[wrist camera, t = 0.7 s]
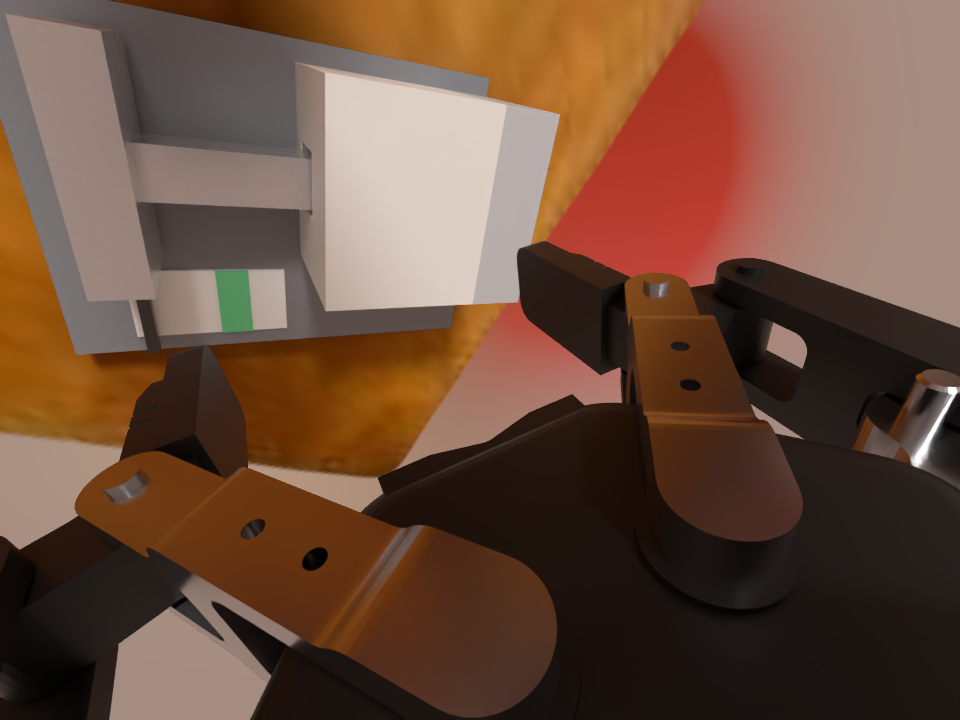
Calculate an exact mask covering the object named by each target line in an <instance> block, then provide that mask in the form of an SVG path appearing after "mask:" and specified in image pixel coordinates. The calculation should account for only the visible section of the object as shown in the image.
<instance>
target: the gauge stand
mask: <svg viewBox="0 0 960 720" xmlns="http://www.w3.org/2000/svg"><path fill="white" fill-rule="evenodd" d="M5 14H16V15H28V16H40V17H50V18H56V19H61V20H66V21H72V22H77V23H83V24H88V25H94V26H99V27H105V28H110V29H116V30H121V31H122V35H123V40H124V45H125V51H126V56H127V62H128V67H129V72H130V78H131V83H132V88H133V94H134V99H135V105H136V110H137V115H138V121H139V126H140V132H141V133H143V134H152V135H162V136H172V137H182V138H191V139H201V140H211V141H221V142H230V143H240V144H250V145H260V146H269V147H279V148H289V149H298V150H308V151H311V153H312V210H299V209H278V208H257V207H235V206H214V205H193V204H172V203H154V207H155V213H156V218H157V223H158V229H159V234H160V240H161V245H162V250H163V261H162V266H161V272H160V277H159V283H158V288H157V294H156V299H152V304H153V309H154V313H155V318H156V323H157V328H158V332H159V337H160V342H161V347H162V348H161V349H165V348H179V347H193V346H201V345H220V344H234V343H248V342H262V341H276V340H289V339H303V338H317V337H331V336H345V335H359V334H372V333H386V332H400V331H414V330H428V329H441V328H451V327H452V320H453V314H454V307H455V305H468V304H488V303H509V302H518V297H519V293H520V291H519V280H518V269H517V252H518V250H519V249H520V248H522V247H525V246H529V245H531V241H532V236H533V232H534V227H535V223H536V219H537V214H538V210H539V205H540V201H541V197H542V192H543V188H544V183H545V179H546V175H547V170H548V166H549V161H550V157H551V153H552V148H553V144H554V139H555V135H556V131H557V126H558V122H559V117H560V114H556V113H552V112H547V111H543V110H539V109H535V108H531V107H526V106H522V105H518V104H514V103H510V102H505V101H501V100H497V99H493V98H489V97H487V92H488V85H489V78H486V77H481V76H476V75H471V74H467V73H462V72H457V71H452V70H447V69H442V68H437V67H432V66H427V65H423V64H418V63H413V62H408V61H403V60H398V59H393V58H388V57H384V56H379V55H374V54H369V53H364V52H359V51H354V50H349V49H344V48H340V47H335V46H330V45H325V44H320V43H315V42H310V41H305V40H300V39H296V38H291V37H286V36H281V35H276V34H271V33H266V32H261V31H256V30H252V29H247V28H242V27H237V26H232V25H227V24H222V23H217V22H213V21H208V20H203V19H198V18H193V17H188V16H183V15H178V14H173V13H169V12H164V11H159V10H154V9H149V8H144V7H139V6H134V5H129V4H125V3H120V2H115V1H110V0H0V118H1V121H2V124H3V127H4V130H5V133H6V137H7V140H8V143H9V146H10V149H11V152H12V155H13V158H14V162H15V165H16V168H17V171H18V174H19V177H20V180H21V183H22V187H23V190H24V193H25V196H26V199H27V202H28V205H29V208H30V212H31V215H32V218H33V221H34V224H35V227H36V230H37V233H38V237H39V240H40V243H41V246H42V249H43V252H44V255H45V258H46V262H47V265H48V268H49V271H50V274H51V277H52V280H53V283H54V287H55V290H56V293H57V296H58V299H59V302H60V305H61V308H62V312H63V315H64V318H65V321H66V324H67V327H68V330H69V333H70V337H71V340H72V343H73V346H74V349H75V352H76V355H82V354H96V353H110V352H124V351H138V350H147V346H146V341H145V337H144V333H143V328H142V324H141V320H140V315H139V311H138V306H137V302H136V300H117V301H87V298H86V294H85V291H84V287H83V284H82V280H81V277H80V273H79V270H78V266H77V263H76V259H75V256H74V252H73V249H72V245H71V242H70V238H69V235H68V231H67V228H66V224H65V221H64V217H63V214H62V210H61V207H60V203H59V200H58V196H57V193H56V189H55V186H54V182H53V179H52V175H51V172H50V168H49V165H48V161H47V158H46V154H45V151H44V148H43V144H42V141H41V137H40V134H39V130H38V127H37V123H36V120H35V116H34V113H33V109H32V106H31V102H30V99H29V95H28V92H27V88H26V85H25V81H24V78H23V74H22V71H21V67H20V64H19V60H18V57H17V53H16V50H15V46H14V43H13V39H12V36H11V32H10V29H9V25H8V22H7V18H6V15H5Z"/></svg>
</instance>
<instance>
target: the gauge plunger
mask: <svg viewBox="0 0 960 720" xmlns="http://www.w3.org/2000/svg"><path fill="white" fill-rule="evenodd" d="M5 15H6V18H7V22H8V25H9V29H10V32H11V36H12V39H13V43H14V46H15V50H16V53H17V57H18V60H19V64H20V67H21V71H22V74H23V78H24V81H25V85H26V88H27V92H28V95H29V99H30V102H31V106H32V109H33V113H34V116H35V120H36V123H37V127H38V130H39V134H40V137H41V141H42V144H43V148H44V151H45V154H46V158H47V161H48V165H49V168H50V172H51V175H52V179H53V182H54V186H55V189H56V193H57V196H58V200H59V203H60V207H61V210H62V214H63V217H64V221H65V224H66V228H67V231H68V235H69V238H70V242H71V245H72V249H73V252H74V256H75V259H76V263H77V266H78V270H79V273H80V277H81V280H82V284H83V287H84V291H85V294H86V298H87V301H117V300H136V302H137V306H138V311H139V315H140V320H141V324H142V328H143V333H144V337H145V341H146V346H147V350H148V353H161V348H162V347H161V342H160V337H159V332H158V328H157V323H156V318H155V313H154V309H153V304H152V299H156V294H157V288H158V283H159V277H160V272H161V266H162V261H163V250H162V245H161V240H160V234H159V229H158V223H157V218H156V213H155V207H154V203H172V204H193V205H214V206H235V207H257V208H278V209H299V210H312V153H311V151H308V150H298V149H289V148H279V147H269V146H260V145H250V144H240V143H230V142H221V141H211V140H201V139H191V138H182V137H172V136H162V135H152V134H143V133H141V132H140V126H139V121H138V115H137V110H136V105H135V99H134V94H133V88H132V83H131V78H130V72H129V67H128V62H127V56H126V51H125V45H124V40H123V35H122V31H121V30H116V29H110V28H105V27H99V26H94V25H88V24H83V23H77V22H72V21H66V20H61V19H56V18H50V17H40V16H28V15H16V14H5Z"/></svg>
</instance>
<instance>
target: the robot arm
mask: <svg viewBox="0 0 960 720" xmlns="http://www.w3.org/2000/svg"><path fill="white" fill-rule="evenodd" d="M517 269H518V280H519V291H520V301H521V306H522V309H523V312H524V314H525V316H526V317H527V319H528V320H529V321H530V322H532V323H533V324H534V325H536V326H537V327H538V328H539V329H541V330H542V331H543V332H545V333H546V334H547V335H549V336H550V337H551V338H552V339H554V340H555V341H556V342H558V343H559V344H560V345H562V346H563V347H564V348H566V349H567V350H568V351H570V352H571V353H573V354H574V355H575V356H576V357H577V358H579V359H580V360H581V361H583V362H584V363H585V364H586V365H588V366H589V367H590V368H592V369H593V370H594V371H596V372H597V373H598V374H600V375H602V374H605V373H607V372H609V371H611V370H614V369H616V368H619V367H620V368H621V379H620V383H621V399H622V403H600V404H591V405H586V406H585V405H583V404H582V403H581V402H580V401H579V400H578V399H577V398H576V397H575V396H573V395H569V396H567V397H564V398H563V399H560V400H558V401H555V402H553V403H550V404H548V405H546V406H544V407H541V408H539V409H536V410H534V411H532V412H530V413H528V414H527V415H525V416H524V417H522V418H521V419H520V420H518V421H517V422H515V423H514V424H512V425H511V426H510V427H508V428H507V429H505V430H504V431H503V432H501V433H500V434H498V435H497V436H496V437H494V438H493V439H491V440H490V441H487V442H485V443H481V444H477V445H472V446H468V447H464V448H459V449H454V450H450V451H446V452H441V453H437V454H433V455H429V456H427V457H425V458H422V459H420V460H418V461H415V462H413V463H411V464H408V465H406V466H404V467H401V468H399V469H397V470H394V471H392V472H390V473H387V474H385V475H383V476H380V477H378V480H379V482H380V485H381V488H382V491H383V493H384V494H382V495H381V496H380V497H378V498H377V499H375V500H374V501H373V502H372V503H370V504H369V505H368V506H367V507H366V508H365V509H364V510H363V511H362V512H361V513H360V512H357V511H355V510H352V509H350V508H347V507H345V506H342V505H340V504H337V503H335V502H332V501H329V500H327V499H324V498H322V497H320V496H317V495H314V494H312V493H310V492H307V491H305V490H302V489H299V488H297V487H295V486H292V485H290V484H287V483H285V482H282V481H279V480H277V479H275V478H272V477H269V476H267V475H264V474H262V473H259V472H257V471H254V470H252V469H249V468H248V457H247V439H246V422H245V417H244V414H243V411H242V408H241V405H240V403H239V401H238V399H237V397H236V395H235V393H234V391H233V390H232V388H231V386H230V384H229V382H228V380H227V378H226V377H225V375H224V373H223V371H222V369H221V367H220V365H219V364H218V362H217V360H216V358H215V356H214V354H213V353H212V351H211V350H210V348H209V347H208V346H207V345H201V346H198V347H195V348H192V349H188V350H185V351H182V352H178V353H175V354H172V355H170V356H169V357H168V361H167V366H166V371H165V375H164V380H161V381H158V382H155V383H152V384H151V385H150V386H149V387H148V388H147V389H146V390H145V391H144V392H143V394H142V395H141V396H140V397H139V398H138V399H137V401H136V405H135V408H134V412H133V416H134V417H132V419H131V422H130V425H129V427H130V429H129V430H128V432H127V436H126V439H125V443H124V446H123V450H122V453H121V456H120V460H119V462H117V463H115V464H113V465H112V466H110V467H108V468H107V469H105V470H104V471H102V472H101V473H100V474H98V475H97V476H96V477H95V478H93V479H92V480H91V481H90V482H89V483H88V484H87V485H86V486H85V487H84V489H83V490H82V491H81V492H80V494H79V496H78V497H77V499H76V502H75V511H76V513H77V514H78V515H79V516H77V517H76V518H74V519H73V520H71V521H70V522H68V523H66V524H64V525H63V526H61V527H59V528H57V529H56V530H54V531H52V532H50V533H49V534H47V535H45V536H43V537H41V538H40V539H38V540H36V541H34V542H33V543H31V544H29V545H27V546H25V547H24V548H22V549H20V550H19V549H18V548H16V547H15V546H14V545H13V544H12V543H11V542H10V541H8V540H7V539H6V538H4V537H2V536H0V720H109V717H110V709H111V702H112V694H113V686H114V678H115V670H116V662H117V654H118V644H119V643H120V642H122V641H123V640H124V639H126V638H127V637H129V636H130V635H131V634H133V633H134V632H136V631H137V630H138V629H140V628H141V627H142V626H144V625H145V624H147V623H148V622H149V621H151V620H152V619H154V618H155V617H156V616H158V615H159V614H161V613H162V612H163V611H165V610H166V609H168V610H170V611H171V612H172V613H174V614H175V615H176V616H178V617H179V618H180V619H182V620H184V621H185V622H186V623H188V624H189V625H191V626H192V627H194V628H195V629H196V630H198V631H200V632H201V633H203V634H204V635H205V636H207V637H208V638H210V639H211V640H213V641H214V642H216V643H217V644H218V645H220V646H221V647H223V648H224V649H226V650H227V651H229V652H230V653H232V654H233V655H234V656H236V657H237V658H238V659H239V660H241V661H242V662H243V663H244V664H245V665H247V666H248V667H249V668H250V669H251V670H252V671H253V672H254V673H255V674H256V675H257V676H259V677H260V678H261V679H262V680H264V681H265V682H266V683H267V686H266V688H265V690H264V692H263V694H262V696H261V698H260V701H259V702H258V705H257V706H256V709H255V711H254V713H253V715H252V717H251V719H250V720H960V328H959V327H956V326H953V325H951V324H948V323H945V322H942V321H939V320H936V319H933V318H931V317H928V316H925V315H922V314H919V313H916V312H913V311H911V310H908V309H905V308H902V307H899V306H896V305H893V304H891V303H887V302H885V301H882V300H879V299H876V298H873V297H871V296H868V295H865V294H862V293H859V292H856V291H853V290H851V289H848V288H845V287H842V286H839V285H836V284H834V283H830V282H828V281H825V280H822V279H819V278H816V277H813V276H811V275H808V274H805V273H802V272H799V271H796V270H794V269H791V268H788V267H785V266H782V265H779V264H776V263H774V262H770V261H767V260H762V259H756V258H740V259H732V260H728V261H725V262H723V263H721V264H719V265H718V267H717V270H716V276H715V282H714V284H708V285H702V286H696V287H689V285H688V283H687V281H685V280H684V279H683V278H680V277H678V276H675V275H671V274H665V273H647V274H641V275H637V276H634V277H632V278H630V277H628V276H626V275H624V274H622V273H620V272H618V271H616V270H613V269H611V268H609V267H605V265H602V264H601V263H598V262H595V261H594V260H592V259H590V258H588V257H585V256H583V255H580V254H574V253H570V252H568V251H565V250H563V249H561V248H559V247H557V246H555V245H553V244H550V243H549V242H546V241H542V242H538V243H535V244H532V245H529V246H525V247H522V248H520V249H519V250H518V252H517ZM773 322H774V323H776V324H778V325H780V326H782V327H784V328H786V329H789V330H791V331H793V332H795V333H797V334H798V335H799V336H800V337H801V338H802V339H803V340H804V342H805V344H806V346H807V356H806V360H805V363H804V366H803V369H802V368H800V367H798V366H796V365H794V364H792V363H790V362H788V361H786V360H784V359H783V358H781V357H779V356H777V355H775V354H773V353H771V352H769V351H767V350H766V349H767V345H768V341H769V337H770V332H771V329H772V325H773ZM751 404H752V405H753V406H755V407H756V408H758V409H759V410H761V411H762V412H764V413H766V414H767V415H768V416H770V417H772V418H773V419H775V420H776V421H778V422H779V423H781V424H782V425H784V426H785V427H787V428H789V429H790V430H791V431H793V432H794V433H796V434H798V435H799V436H800V437H802V438H803V439H800V438H795V437H790V436H785V435H780V434H776V433H775V432H774V430H773V428H772V427H771V425H770V424H769V423H768V422H767V421H765V420H759V419H758V418H757V417H756V416H755V414H754V412H753V409H752V406H751ZM804 439H805V440H804Z"/></svg>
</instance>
